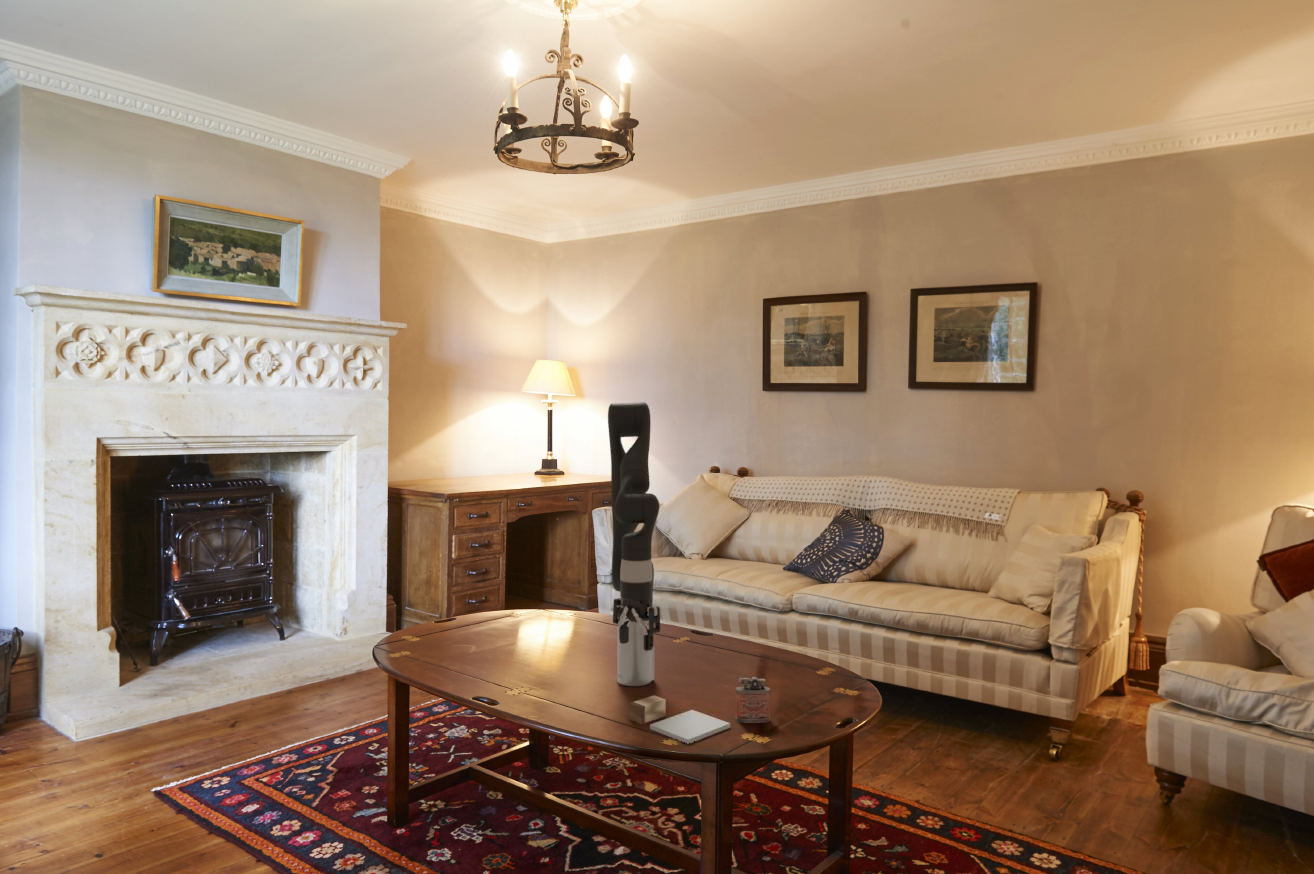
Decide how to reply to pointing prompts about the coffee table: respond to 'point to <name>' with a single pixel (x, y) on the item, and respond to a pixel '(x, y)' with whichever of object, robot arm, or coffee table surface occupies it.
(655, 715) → the block
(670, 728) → the mat
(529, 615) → the coffee table surface
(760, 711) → the lighter
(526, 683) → the coffee table surface
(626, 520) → the robot arm
